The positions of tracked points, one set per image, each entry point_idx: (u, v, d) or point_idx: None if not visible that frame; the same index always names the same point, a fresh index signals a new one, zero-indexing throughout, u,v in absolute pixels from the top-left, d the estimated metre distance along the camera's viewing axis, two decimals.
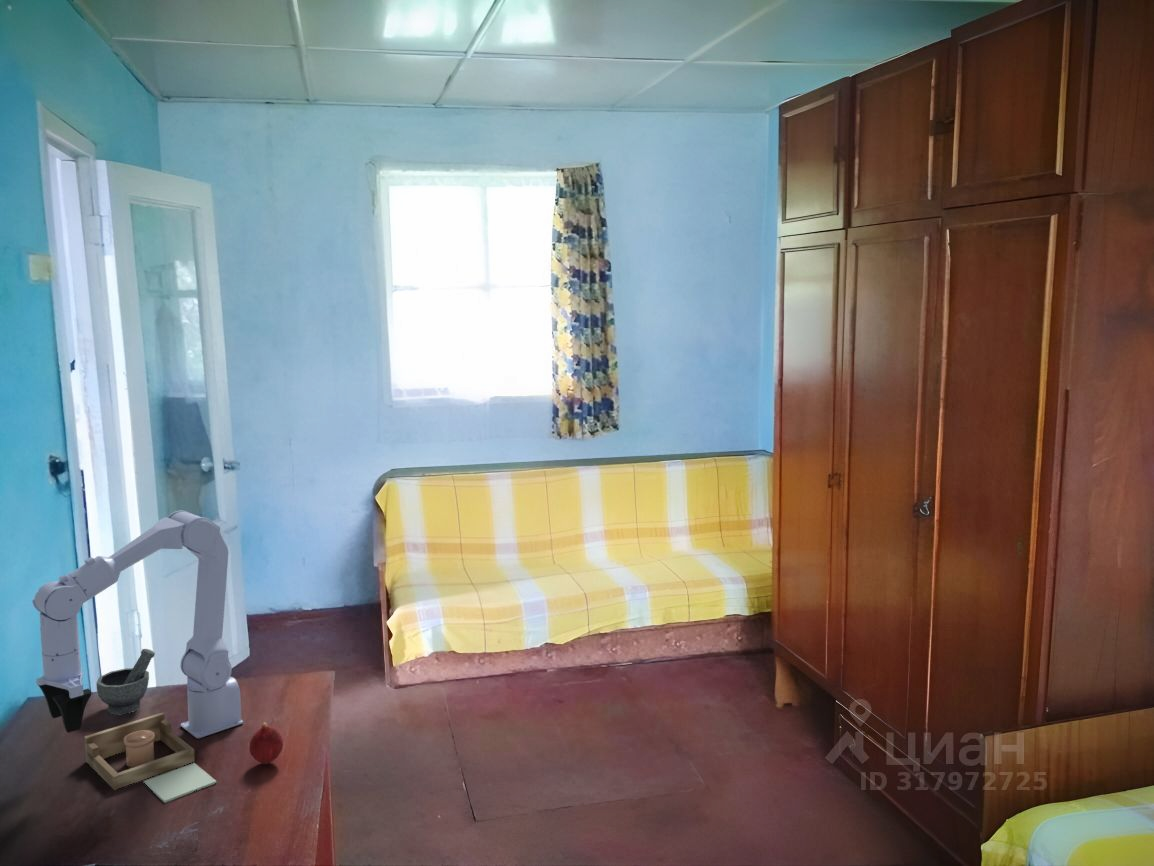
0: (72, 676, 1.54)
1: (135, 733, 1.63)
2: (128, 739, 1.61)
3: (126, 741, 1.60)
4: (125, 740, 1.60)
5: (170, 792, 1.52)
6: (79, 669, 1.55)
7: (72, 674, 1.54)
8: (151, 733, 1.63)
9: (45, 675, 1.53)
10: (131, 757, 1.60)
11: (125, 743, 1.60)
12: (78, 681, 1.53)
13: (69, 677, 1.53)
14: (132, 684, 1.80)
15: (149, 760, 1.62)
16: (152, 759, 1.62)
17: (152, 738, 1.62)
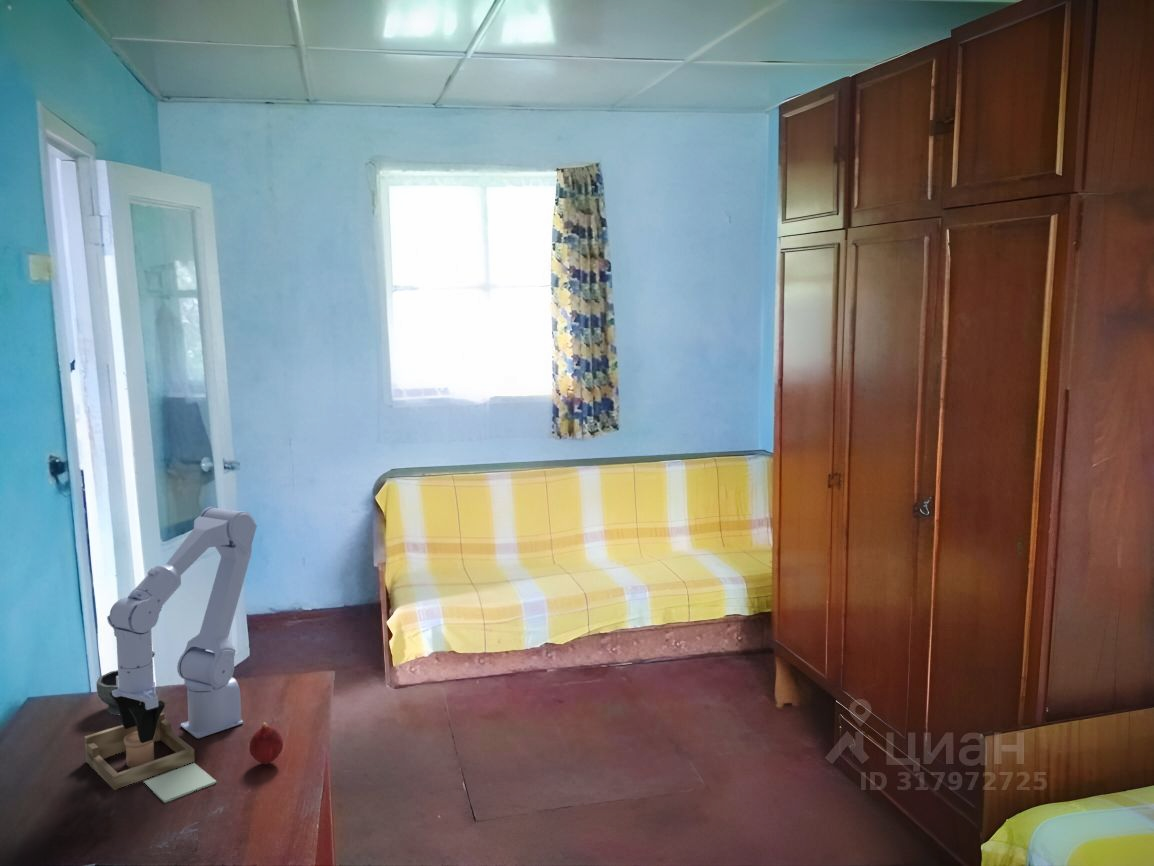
0: (146, 688, 1.59)
1: (135, 733, 1.63)
2: (128, 739, 1.61)
3: (126, 741, 1.60)
4: (125, 740, 1.60)
5: (170, 792, 1.52)
6: (152, 681, 1.61)
7: (146, 686, 1.59)
8: None
9: (121, 687, 1.58)
10: (131, 757, 1.60)
11: (125, 743, 1.60)
12: (152, 693, 1.58)
13: (143, 689, 1.59)
14: None
15: (149, 760, 1.62)
16: (152, 759, 1.62)
17: None
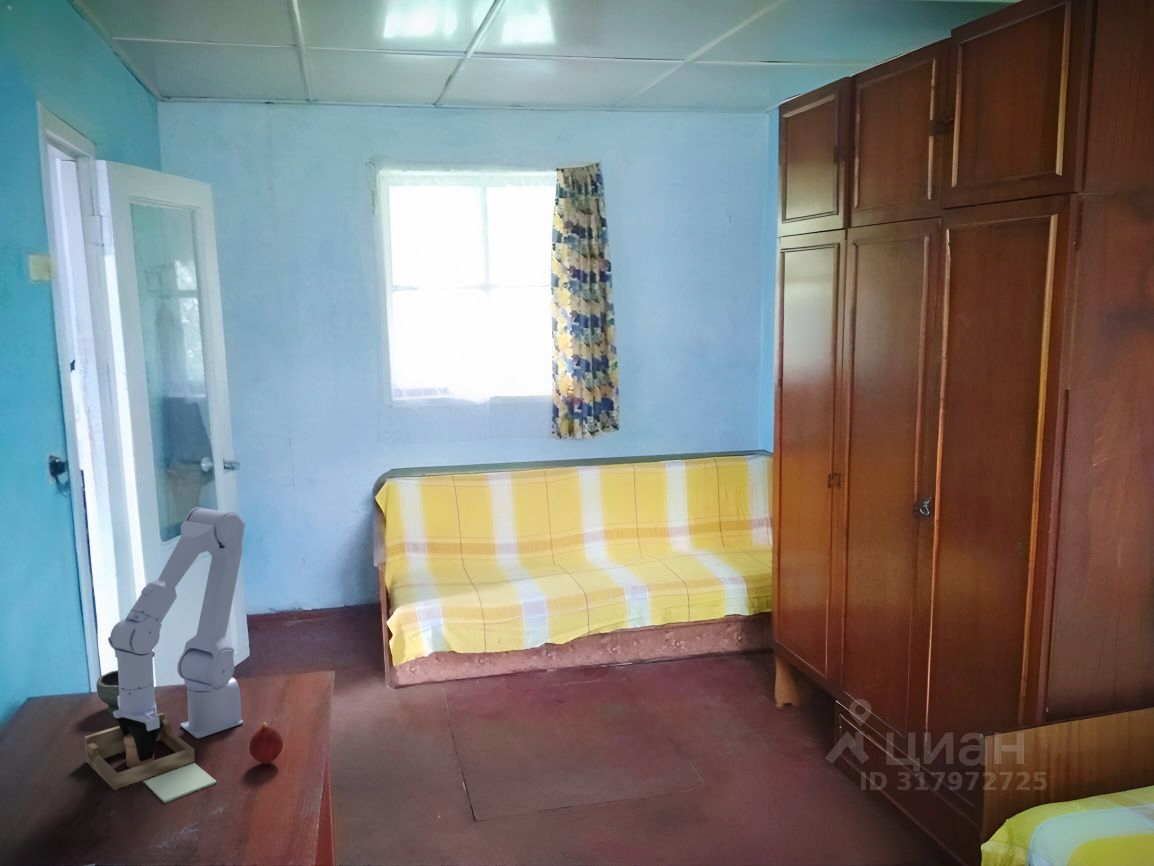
0: (147, 709, 1.60)
1: None
2: (128, 739, 1.61)
3: (126, 741, 1.60)
4: (125, 740, 1.60)
5: (170, 792, 1.52)
6: (153, 702, 1.61)
7: (147, 706, 1.60)
8: None
9: (122, 708, 1.59)
10: (131, 757, 1.60)
11: (125, 743, 1.60)
12: (154, 714, 1.59)
13: (145, 710, 1.59)
14: None
15: (149, 759, 1.62)
16: (152, 759, 1.62)
17: None
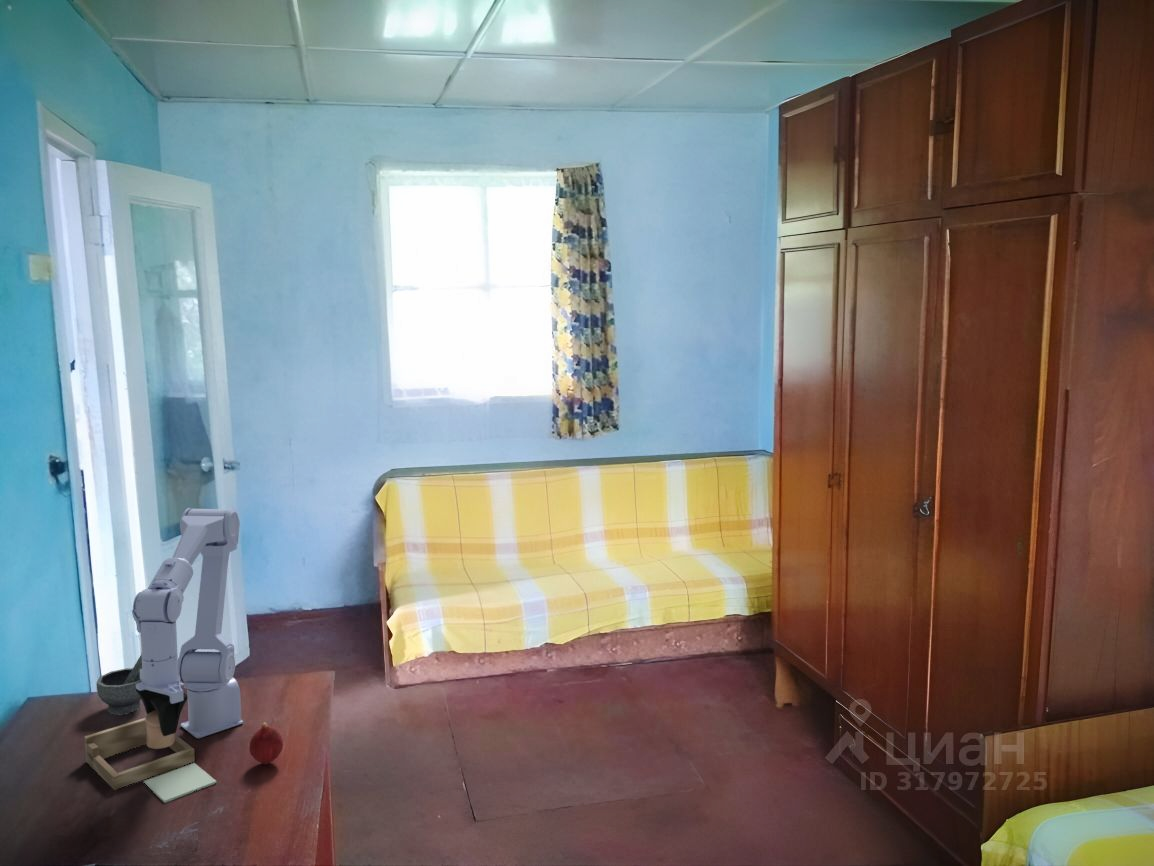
0: (171, 681, 1.54)
1: None
2: (150, 718, 1.55)
3: (148, 720, 1.54)
4: (147, 718, 1.55)
5: (170, 792, 1.52)
6: (177, 675, 1.56)
7: (170, 679, 1.54)
8: None
9: (145, 680, 1.53)
10: (152, 737, 1.54)
11: (146, 722, 1.54)
12: (177, 687, 1.53)
13: (168, 682, 1.54)
14: (132, 684, 1.80)
15: (170, 740, 1.56)
16: (173, 740, 1.57)
17: None
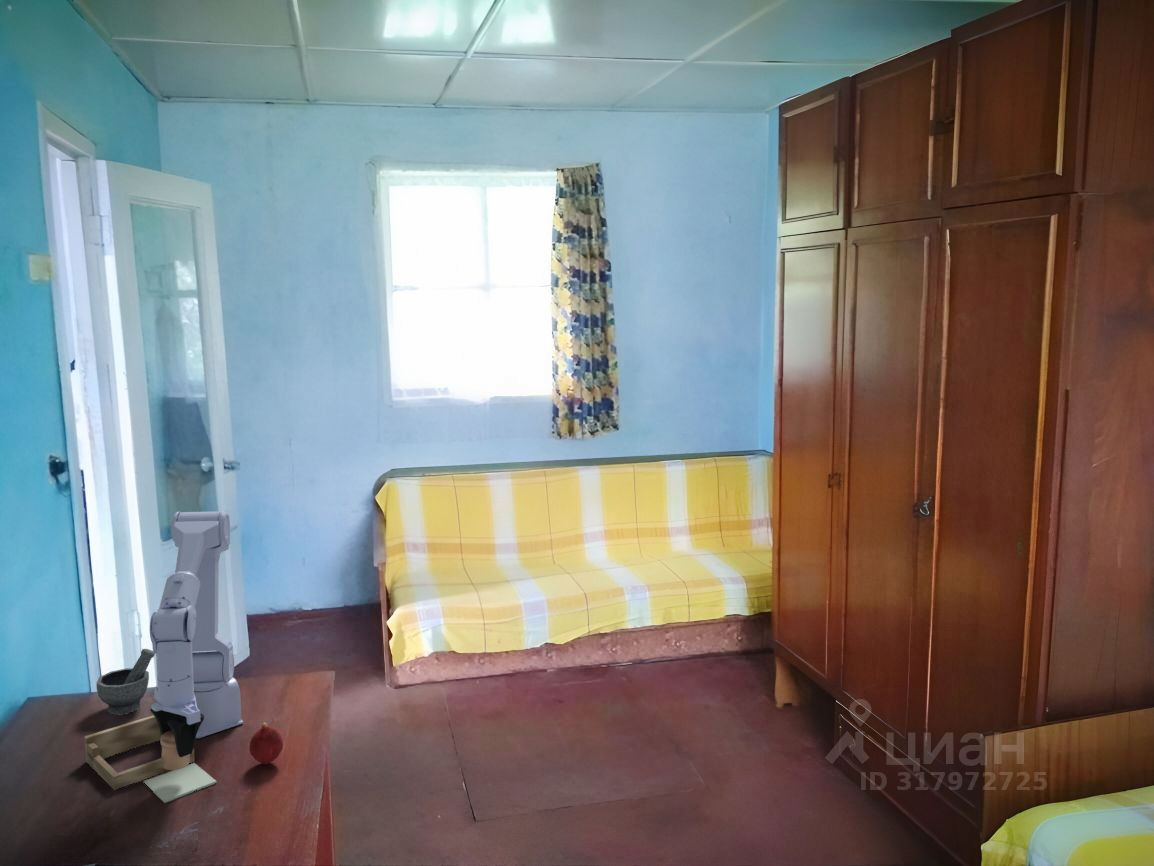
0: (187, 702, 1.52)
1: (172, 732, 1.55)
2: (165, 739, 1.53)
3: (163, 741, 1.52)
4: (162, 740, 1.53)
5: (170, 792, 1.52)
6: (193, 694, 1.54)
7: (187, 699, 1.52)
8: None
9: (160, 701, 1.51)
10: (167, 758, 1.52)
11: (162, 743, 1.52)
12: (194, 707, 1.51)
13: (184, 703, 1.52)
14: (132, 684, 1.80)
15: (186, 761, 1.54)
16: (188, 761, 1.55)
17: None
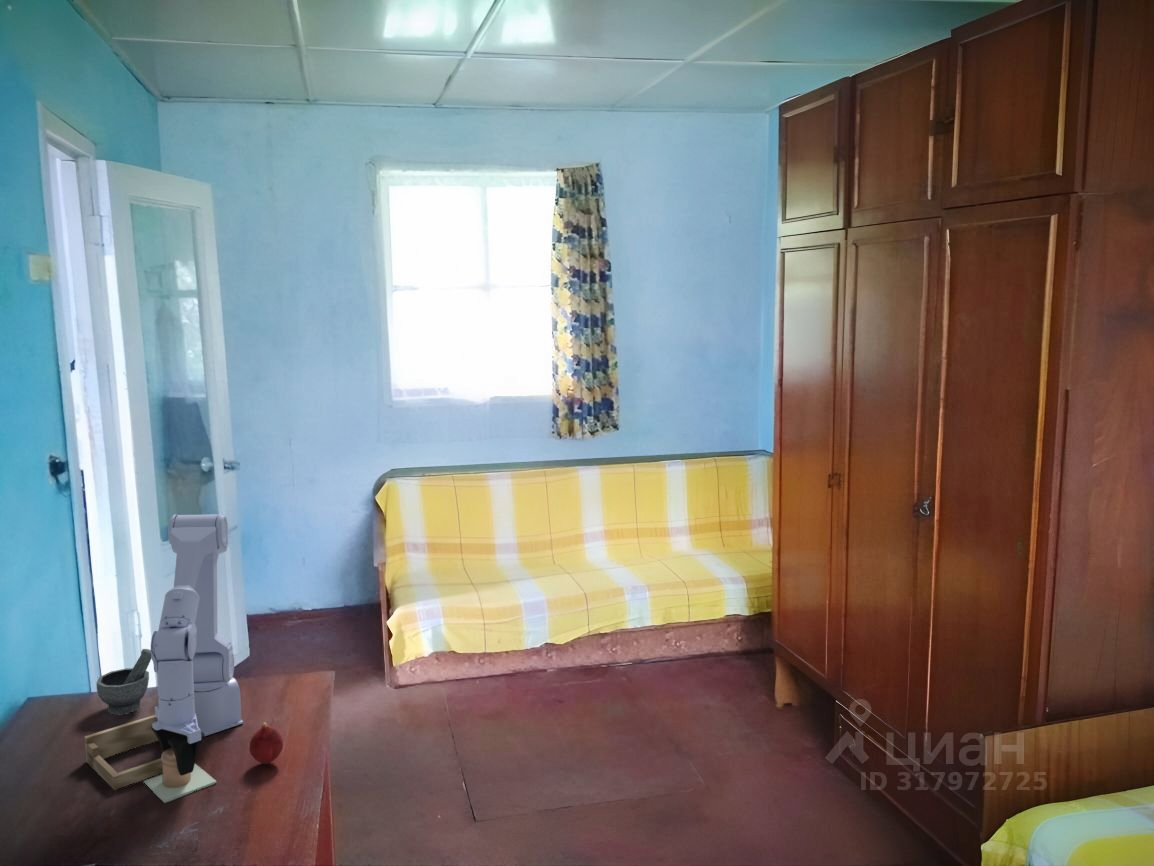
0: (188, 720, 1.52)
1: None
2: (166, 756, 1.53)
3: (164, 759, 1.53)
4: (163, 757, 1.53)
5: (170, 792, 1.52)
6: (193, 713, 1.54)
7: (187, 718, 1.52)
8: None
9: (161, 720, 1.51)
10: (168, 775, 1.53)
11: (163, 761, 1.53)
12: (195, 726, 1.51)
13: (185, 721, 1.52)
14: (132, 684, 1.80)
15: (186, 779, 1.54)
16: (189, 778, 1.55)
17: None
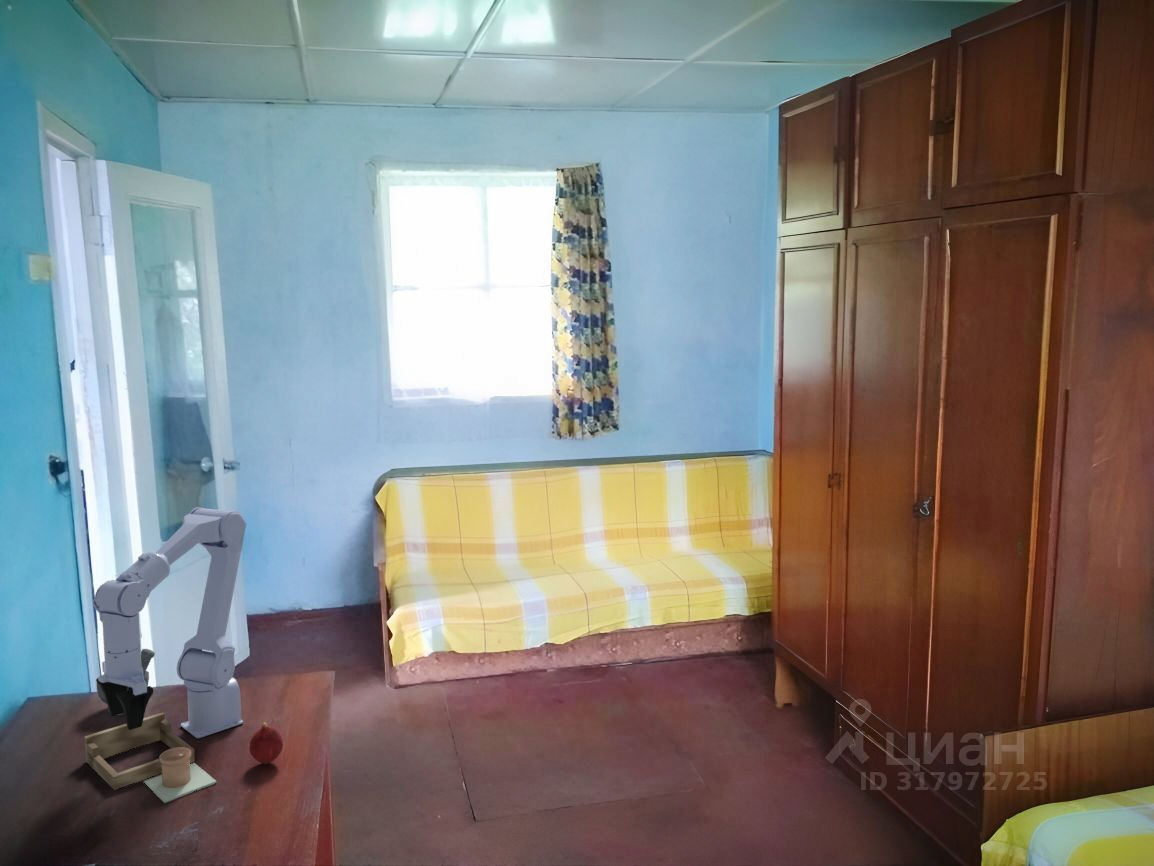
0: (134, 673, 1.54)
1: (171, 750, 1.56)
2: (164, 757, 1.54)
3: (162, 759, 1.53)
4: (161, 758, 1.53)
5: (170, 792, 1.52)
6: (140, 666, 1.56)
7: (133, 671, 1.54)
8: (188, 750, 1.56)
9: (107, 672, 1.53)
10: (167, 776, 1.53)
11: (161, 761, 1.53)
12: (141, 678, 1.53)
13: (131, 674, 1.54)
14: None
15: (186, 778, 1.55)
16: (189, 778, 1.55)
17: (189, 756, 1.55)
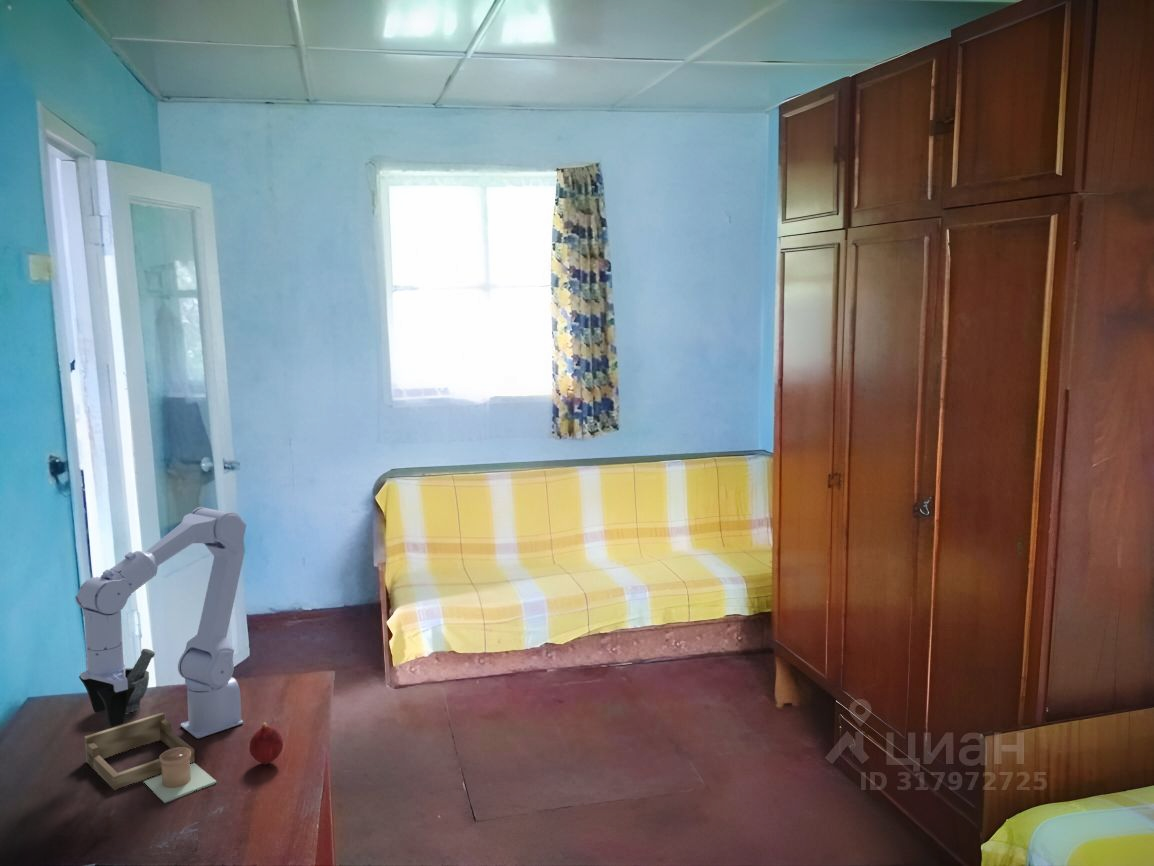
0: (116, 670, 1.55)
1: (171, 750, 1.56)
2: (164, 757, 1.54)
3: (162, 759, 1.53)
4: (161, 758, 1.53)
5: (170, 792, 1.52)
6: (122, 664, 1.57)
7: (115, 668, 1.55)
8: (188, 750, 1.56)
9: (89, 669, 1.54)
10: (167, 776, 1.53)
11: (161, 761, 1.53)
12: (122, 675, 1.54)
13: (113, 671, 1.54)
14: None
15: (186, 778, 1.55)
16: (189, 778, 1.55)
17: (189, 756, 1.55)
